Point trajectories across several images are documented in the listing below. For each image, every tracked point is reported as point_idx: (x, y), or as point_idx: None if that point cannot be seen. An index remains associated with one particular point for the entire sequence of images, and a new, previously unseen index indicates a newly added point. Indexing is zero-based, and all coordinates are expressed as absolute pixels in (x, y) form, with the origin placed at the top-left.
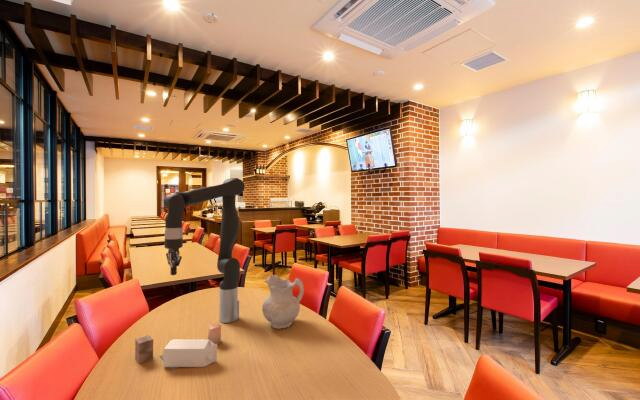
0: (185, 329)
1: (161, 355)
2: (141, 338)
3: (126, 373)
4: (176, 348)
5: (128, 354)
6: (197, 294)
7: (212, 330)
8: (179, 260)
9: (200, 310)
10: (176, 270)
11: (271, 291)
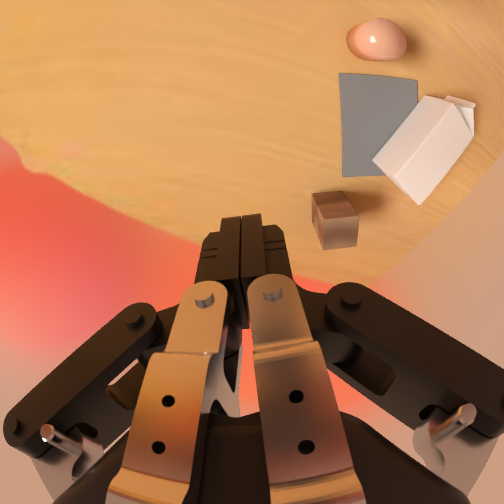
0: (206, 75)
1: (343, 173)
2: (330, 238)
3: (358, 240)
4: (437, 183)
5: None
6: None
7: (401, 54)
8: (470, 368)
9: (73, 25)
10: (262, 240)
11: None
